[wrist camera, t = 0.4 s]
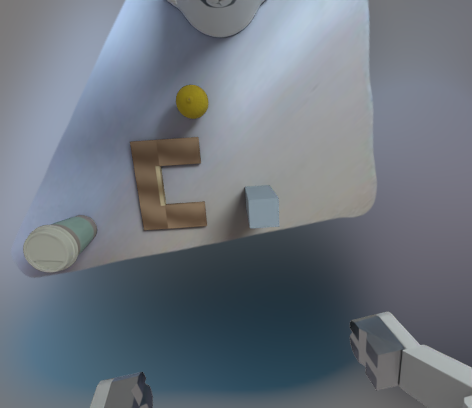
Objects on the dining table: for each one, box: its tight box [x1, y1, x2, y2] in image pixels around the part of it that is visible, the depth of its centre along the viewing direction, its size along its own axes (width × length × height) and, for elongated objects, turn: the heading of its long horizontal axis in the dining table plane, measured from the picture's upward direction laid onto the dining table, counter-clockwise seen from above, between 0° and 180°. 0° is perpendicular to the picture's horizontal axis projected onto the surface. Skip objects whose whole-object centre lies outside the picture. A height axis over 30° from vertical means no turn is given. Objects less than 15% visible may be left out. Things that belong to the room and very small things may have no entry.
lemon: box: [176, 85, 208, 119], centre depth 47 cm, size 6×6×8 cm
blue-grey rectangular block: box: [245, 185, 279, 228], centre depth 51 cm, size 5×5×11 cm
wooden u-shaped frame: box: [130, 137, 207, 230], centre depth 55 cm, size 18×13×1 cm
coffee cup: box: [23, 215, 97, 273], centre depth 51 cm, size 9×8×12 cm
